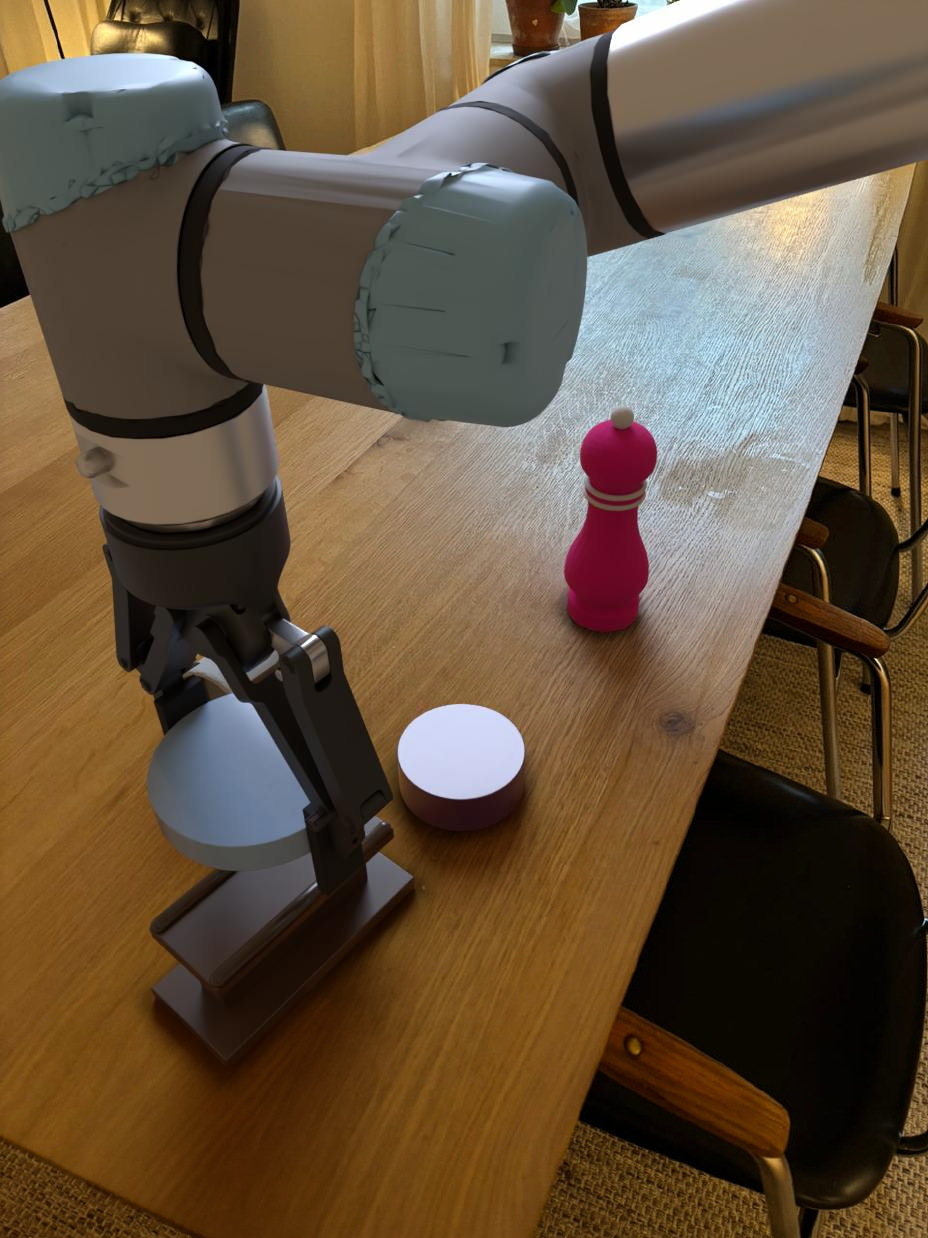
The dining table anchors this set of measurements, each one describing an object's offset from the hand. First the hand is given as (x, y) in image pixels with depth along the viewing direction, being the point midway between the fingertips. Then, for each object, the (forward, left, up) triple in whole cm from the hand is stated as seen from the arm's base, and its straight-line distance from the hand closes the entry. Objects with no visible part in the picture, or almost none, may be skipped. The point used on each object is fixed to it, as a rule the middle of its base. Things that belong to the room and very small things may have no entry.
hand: (267, 820), depth 55 cm
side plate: (0, 0, +3) cm, 3 cm away
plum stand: (0, -17, -12) cm, 21 cm away
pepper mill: (+3, -40, -13) cm, 42 cm away
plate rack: (0, 0, -12) cm, 12 cm away
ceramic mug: (+18, -11, -13) cm, 25 cm away
